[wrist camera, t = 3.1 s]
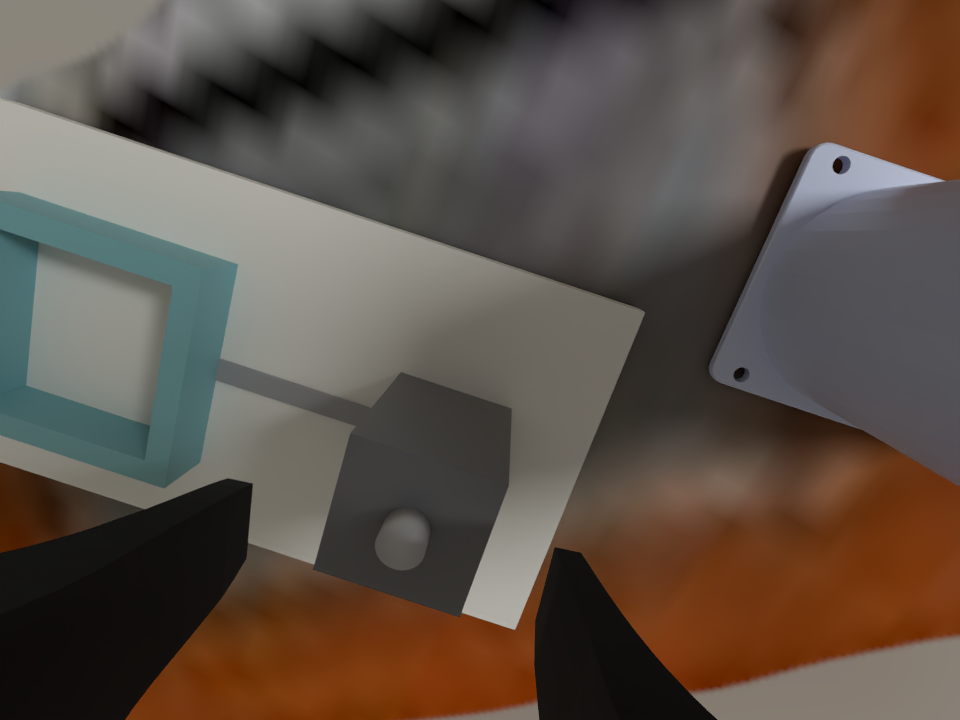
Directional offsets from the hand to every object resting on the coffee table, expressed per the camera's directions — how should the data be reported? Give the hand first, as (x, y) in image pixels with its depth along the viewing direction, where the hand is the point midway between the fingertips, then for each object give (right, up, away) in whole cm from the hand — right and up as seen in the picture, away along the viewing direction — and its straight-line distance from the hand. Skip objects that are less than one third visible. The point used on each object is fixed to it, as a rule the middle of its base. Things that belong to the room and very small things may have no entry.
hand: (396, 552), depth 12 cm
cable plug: (0, +2, +6) cm, 6 cm away
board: (-5, +4, +7) cm, 10 cm away
